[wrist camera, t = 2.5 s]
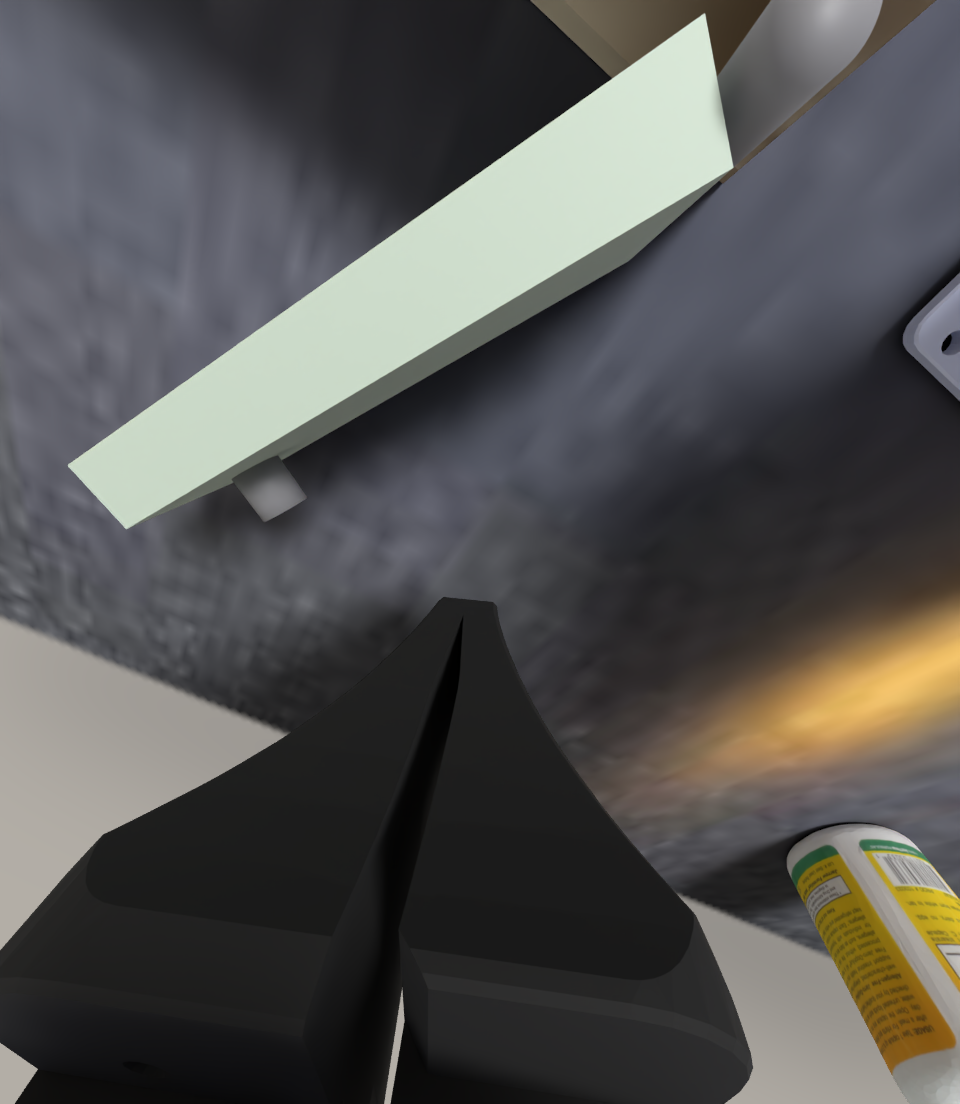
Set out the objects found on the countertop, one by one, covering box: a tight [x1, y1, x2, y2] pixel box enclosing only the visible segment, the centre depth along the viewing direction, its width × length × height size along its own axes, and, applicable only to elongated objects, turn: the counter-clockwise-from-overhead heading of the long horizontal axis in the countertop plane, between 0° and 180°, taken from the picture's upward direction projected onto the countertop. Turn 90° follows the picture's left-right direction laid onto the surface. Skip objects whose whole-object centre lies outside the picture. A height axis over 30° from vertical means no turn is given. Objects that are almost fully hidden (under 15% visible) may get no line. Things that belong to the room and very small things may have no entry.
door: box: [68, 0, 883, 529], centre depth 8 cm, size 12×3×6 cm, turn 117°
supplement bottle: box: [787, 824, 960, 1104], centre depth 14 cm, size 5×5×10 cm
